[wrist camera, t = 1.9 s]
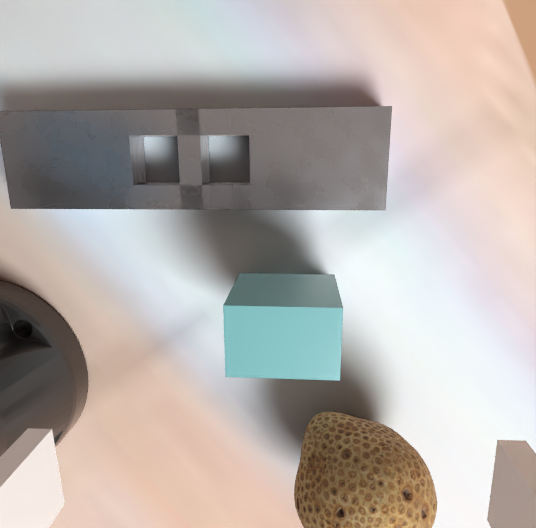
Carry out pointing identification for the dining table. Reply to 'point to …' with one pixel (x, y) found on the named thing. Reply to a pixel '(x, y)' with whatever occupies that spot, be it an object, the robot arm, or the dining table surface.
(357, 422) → the natural sponge
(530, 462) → the robot arm
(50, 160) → the rail
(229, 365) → the teal foam brick
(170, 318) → the dining table surface
